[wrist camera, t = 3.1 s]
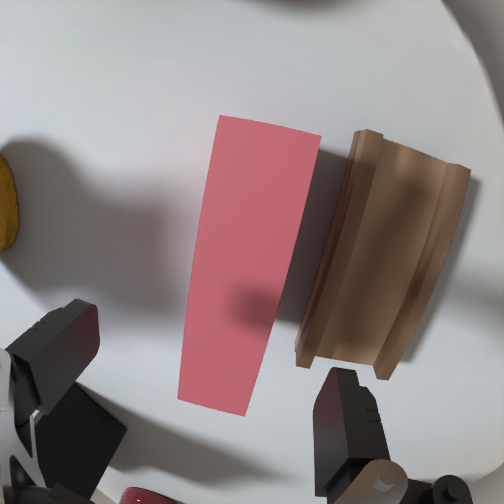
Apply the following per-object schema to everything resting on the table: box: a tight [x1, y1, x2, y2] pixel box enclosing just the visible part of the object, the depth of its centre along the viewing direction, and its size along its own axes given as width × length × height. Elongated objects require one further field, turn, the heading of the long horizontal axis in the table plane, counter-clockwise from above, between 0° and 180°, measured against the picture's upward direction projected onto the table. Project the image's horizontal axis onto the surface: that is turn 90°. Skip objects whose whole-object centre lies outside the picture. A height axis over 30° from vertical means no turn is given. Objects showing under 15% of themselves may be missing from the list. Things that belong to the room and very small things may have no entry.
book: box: [178, 115, 321, 417], centre depth 19 cm, size 4×15×12 cm, turn 168°
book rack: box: [295, 129, 471, 380], centre depth 23 cm, size 9×19×4 cm, turn 168°
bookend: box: [34, 383, 127, 500], centre depth 27 cm, size 23×11×24 cm, turn 132°
